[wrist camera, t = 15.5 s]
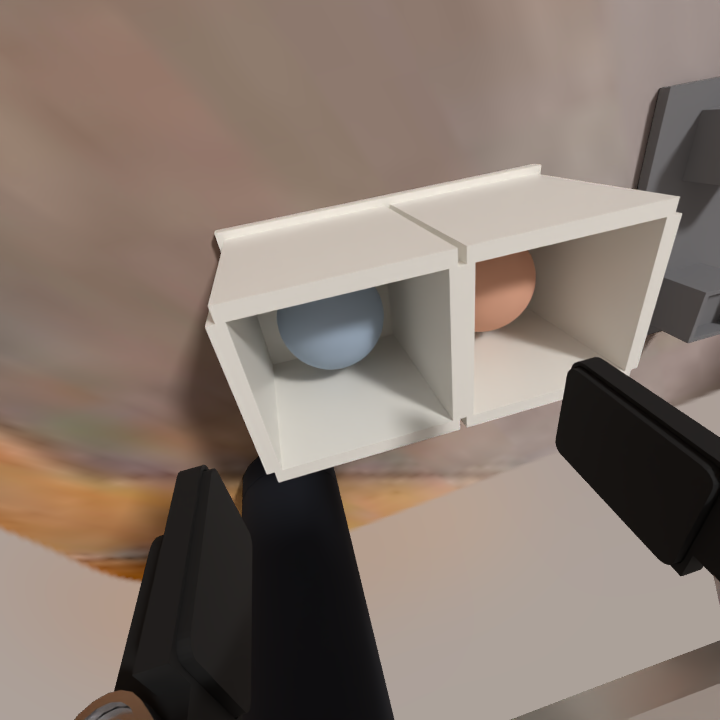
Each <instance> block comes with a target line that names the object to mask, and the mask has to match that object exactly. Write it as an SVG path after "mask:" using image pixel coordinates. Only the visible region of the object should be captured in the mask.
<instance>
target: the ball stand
mask: <svg viewBox="0 0 720 720" xmlns="http://www.w3.org/2000/svg"><path fill="white" fill-rule="evenodd" d="M637 190H641V191H648V192H654V193H661V194H667V195H673V196H680V199H679V202H678V206H677V209H676V212H678V213H682V216H681V220H680V223H679V227H678V230H677V233H676V237H675V240H674V244H673V247H672V251H671V254H670V257H669V261H668V264H667V268H666V271H665V274H664V278H663V281H662V285H661V288H660V291H659V295H658V298H657V302H656V305H655V309H654V312H653V315H652V319H651V322H650V326H649V329H648V332H647V335H648V334H652V333H656V332H659V331H664V332H666V333H668V334H670V335H672V336H674V337H676V338H678V339H680V340H682V341H684V342H686V343H690V342H694V341H697V340H701V339H705V338H708V337H712V336H715V335H719V334H720V77H715V78H710V79H705V80H700V81H695V82H689V83H684V84H679V85H674V86H668V87H663V88H660V90H659V95H658V99H657V104H656V108H655V113H654V117H653V121H652V126H651V130H650V135H649V139H648V144H647V148H646V153H645V157H644V162H643V166H642V171H641V175H640V179H639V184H638V188H637Z"/></svg>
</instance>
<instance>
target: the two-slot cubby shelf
mask: <svg viewBox="0 0 720 720" xmlns="http://www.w3.org/2000/svg"><path fill="white" fill-rule="evenodd" d="M540 171H541V165H540V164H531V165H526V166H521V167H516V168H511V169H507V170H502V171H497V172H492V173H488V174H483V175H478V176H473V177H468V178H464V179H459V180H454V181H449V182H445V183H440V184H435V185H430V186H425V187H421V188H416V189H411V190H406V191H402V192H397V193H392V194H387V195H383V196H378V197H373V198H368V199H363V200H359V201H354V202H349V203H344V204H340V205H335V206H330V207H325V208H320V209H316V210H311V211H306V212H301V213H297V214H292V215H287V216H282V217H277V218H273V219H268V220H263V221H258V222H254V223H249V224H244V225H239V226H235V227H230V228H225V229H220V230H215V233H214V234H215V237H216V240H217V243H218V245H219V248H220V251H221V256H220V260H219V264H218V268H217V272H216V276H215V280H214V284H213V287H212V291H211V295H210V299H209V303H208V308H209V312H208V316H207V320H206V325H205V329H206V331H207V333H208V336H209V338H210V340H211V343H212V345H213V348H214V350H215V352H216V355H217V357H218V359H219V362H220V364H221V367H222V369H223V371H224V374H225V376H226V379H227V381H228V383H229V386H230V388H231V390H232V393H233V395H234V398H235V400H236V402H237V405H238V407H239V409H240V412H241V414H242V417H243V419H244V421H245V424H246V426H247V429H248V431H249V433H250V436H251V438H252V440H253V443H254V445H255V448H256V450H257V452H258V455H259V457H260V459H261V462H262V464H263V467H264V469H265V471H266V474H271V473H274V472H275V475H276V477H277V480H278V482H282V481H286V480H289V479H293V478H296V477H300V476H303V475H306V474H310V473H313V472H317V471H320V470H323V469H327V468H330V467H334V466H337V465H341V464H344V463H347V462H351V461H354V460H358V459H361V458H365V457H368V456H371V455H375V454H378V453H382V452H385V451H388V450H392V449H395V448H399V447H402V446H406V445H409V444H412V443H416V442H419V441H423V440H426V439H429V438H433V437H436V436H440V435H443V434H447V433H450V432H453V431H457V430H460V419H461V420H462V422H463V423H464V425H465V426H466V427H471V426H474V425H477V424H481V423H484V422H488V421H491V420H494V419H498V418H501V417H505V416H508V415H512V414H515V413H518V412H522V411H525V410H529V409H532V408H536V407H539V406H542V405H546V404H549V403H553V402H556V401H559V400H563V394H564V389H565V383H566V377H567V373H568V371H569V370H570V369H571V367H572V365H573V364H574V363H575V362H578V361H582V360H586V359H589V358H593V357H599V358H602V359H603V360H605V361H606V362H608V363H609V364H611V365H612V366H614V367H615V368H617V369H618V370H620V371H621V372H623V373H624V374H626V375H627V376H629V375H630V372H631V369H634V368H637V367H638V363H639V360H640V356H641V353H642V349H643V346H644V343H645V339H646V336H647V332H648V329H649V326H650V322H651V319H652V315H653V312H654V309H655V305H656V302H657V298H658V295H659V291H660V288H661V285H662V281H663V278H664V274H665V271H666V268H667V264H668V261H669V257H670V254H671V251H672V247H673V244H674V240H675V237H676V233H677V230H678V227H679V223H680V220H681V216H682V213H678V212H676V209H677V206H678V202H679V199H680V196H673V195H667V194H661V193H654V192H648V191H641V190H635V189H629V188H622V187H616V186H610V185H603V184H597V183H591V182H584V181H578V180H572V179H565V178H559V177H553V176H546V175H540ZM526 250H528V251H529V253H530V255H531V257H532V259H533V262H534V266H535V271H536V284H535V289H534V292H533V295H532V298H531V300H530V302H529V304H528V305H527V307H526V308H525V310H524V311H523V312H522V313H521V314H520V315H519V316H518V317H517V318H516V319H515V320H513V321H512V322H511V323H509V324H507V325H506V326H503V327H501V328H499V329H496V330H491V331H486V332H475V263H476V262H480V261H484V260H488V259H493V258H497V257H501V256H505V255H509V254H514V253H518V252H522V251H526ZM371 287H375V288H376V290H377V291H378V293H379V295H380V298H381V301H382V305H383V311H384V321H383V328H382V332H381V335H380V337H379V339H378V341H377V343H376V345H375V346H374V348H373V349H372V350H371V352H370V353H369V354H368V355H367V356H366V357H364V358H363V359H362V360H360V361H359V362H357V363H355V364H353V365H351V366H348V367H345V368H341V369H334V370H326V369H320V368H316V367H313V366H310V365H308V364H306V363H304V362H302V361H301V360H299V359H298V358H297V357H296V356H294V355H293V354H292V353H291V352H290V350H289V349H288V348H287V347H286V345H285V343H284V342H283V340H282V338H281V335H280V333H279V329H278V325H277V310H279V309H283V308H287V307H291V306H295V305H300V304H304V303H308V302H312V301H316V300H321V299H325V298H329V297H333V296H337V295H342V294H346V293H350V292H354V291H358V290H363V289H367V288H371Z"/></svg>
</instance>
